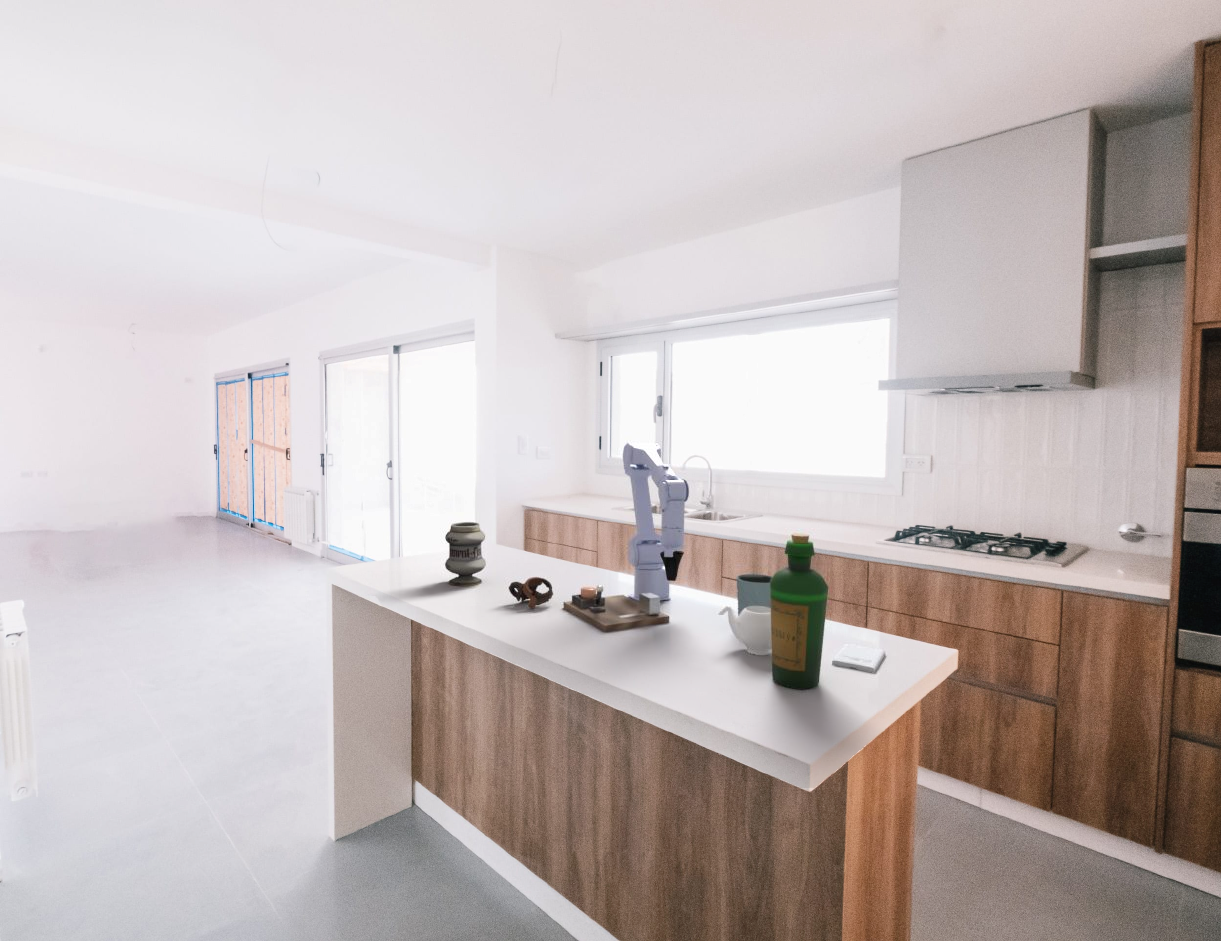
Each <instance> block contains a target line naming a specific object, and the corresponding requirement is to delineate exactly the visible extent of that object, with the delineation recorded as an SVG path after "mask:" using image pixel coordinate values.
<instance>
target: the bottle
mask: <svg viewBox="0 0 1221 941" xmlns="http://www.w3.org/2000/svg"><path fill="white" fill-rule="evenodd" d="M790 536H791V539H788V540H787V542H786V544H785V550H784V554H786V555H787V566H785V567H783V568H781V569H779V570H778V571H776V572H775V573H774V574H773V575H772V578H771V580H770V605H771V644H772V649H771V665H772V666H771V674H772V675H771V676H772V680H774V681H775V682H776V683H778V684H780V685H781V686H784V687H787V688H790V689H799V690H803V689H805V690H806V689H810V688H814V687H816V686H817V685H818V684H819V683H820V677H821V676H820V675H821V666H822V664H821V663H822V656H823V644H824V637H825V636H824V634H825V623H826V614H827V604H828V594H829V593H828V592H829V585H828V584H827V582H826V581H825V579H824V577H823V575H821V574H820V573H819V572H818V571H816V570H815V569H814V568H811V564H812V557H814V556H815V555H816V553H815V548H814V542H813V541H811V540H810V535H809V534H806V533H791V535H790Z"/></svg>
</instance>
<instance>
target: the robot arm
mask: <svg viewBox="0 0 1221 941" xmlns="http://www.w3.org/2000/svg"><path fill="white" fill-rule="evenodd" d="M661 450H662V448H661V447H660V445H659V443H657V442H655V443H631V442H626V444H625V445H624V447H623V451H622V461H623V462H622V463H623V469H624V474H625V475H627V476H628V477H630V478H629V479H630V483H631V484H630V485H631V492H632V500H633V507H634V508H633V509H634V516H635V525H636V534H634V535H633V536H632V537H631V538H630V540H629V541H628V561H629V563H630V566H632V567H633V568H634V581H633V583H634V584H633V593H632V594H631V593H630V594H627V597H629V598H631V599H633V600H635V601H637V602H639V594H640V593H648V592H650V593H652V594H654V595H657V596H659V597H660V602H661V601H666V600H667V601H668V600H671V599H672V598H671V597H670V581H671V582H676V580H677V577H678V572H679V569H680V568H679V567H680V564H681V560H682V558H683V556H684V554H685V551H684V550H683V549H685V504H686V502H688V499H689V497H690V496H689V495H690V487H689V483H688V481H687V479H685V478H679V477H678V476H677V475H676V473H675V472H674V471H673V469H672V468H671V467H670V466H669V464H664V463H663V460H662V451H661ZM649 477H651V480H652V481H653V483H654V485H656V487H657V489H658V490H657V492H658V494H657V495H658V498H659V507H660V509H661V528H660V529H661V532H660V533H661V534H659V533H658V532H656V531H655V527H654V526H655V525H654V519H653V510H652V502H651V496H650V486H649V480H648V479H649ZM681 550H683V551H681Z"/></svg>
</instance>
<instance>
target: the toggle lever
mask: <svg viewBox="0 0 1221 941" xmlns="http://www.w3.org/2000/svg"><path fill="white" fill-rule="evenodd" d="M595 588H596V594H597V595H596V602H595V603H596V604H593V607H601V606H602V604H601V603H600V601H601V597H602V594H603V591H604V586H603V585H596V587H595Z"/></svg>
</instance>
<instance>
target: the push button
mask: <svg viewBox="0 0 1221 941" xmlns="http://www.w3.org/2000/svg"><path fill="white" fill-rule="evenodd" d="M596 588H597V587H591V586H585V587H581V588H580V594H581V598H582V599H584V600H586V599H594V598H596V594H597V590H596Z"/></svg>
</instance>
